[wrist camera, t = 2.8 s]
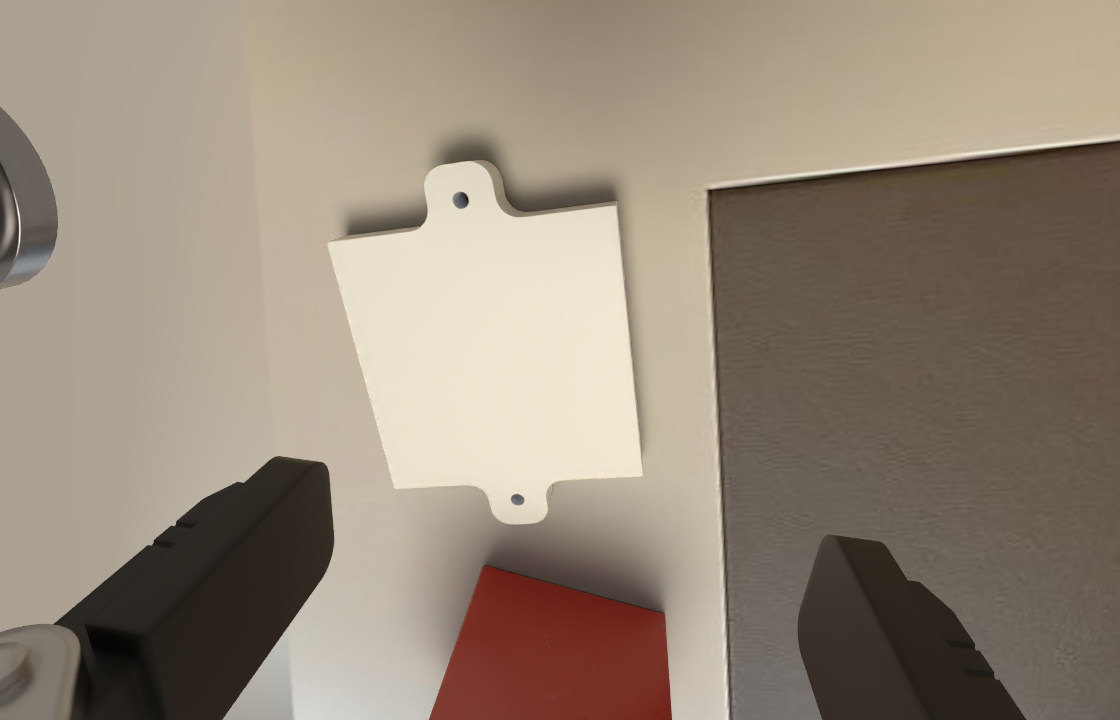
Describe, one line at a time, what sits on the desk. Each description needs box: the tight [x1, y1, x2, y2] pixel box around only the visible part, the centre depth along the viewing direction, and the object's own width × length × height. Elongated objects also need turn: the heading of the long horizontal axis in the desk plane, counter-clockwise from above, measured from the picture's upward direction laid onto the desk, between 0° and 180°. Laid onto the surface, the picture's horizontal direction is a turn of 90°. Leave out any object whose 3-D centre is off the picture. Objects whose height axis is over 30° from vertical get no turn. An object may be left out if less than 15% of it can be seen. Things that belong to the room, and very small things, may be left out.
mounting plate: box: [327, 160, 643, 524], centre depth 28 cm, size 18×13×2 cm
